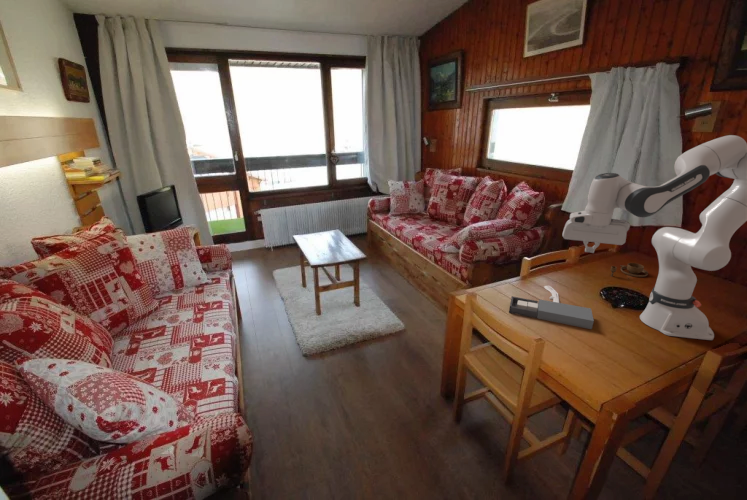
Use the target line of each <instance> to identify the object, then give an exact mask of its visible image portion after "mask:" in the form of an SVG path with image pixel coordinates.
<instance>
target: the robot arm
mask: <svg viewBox="0 0 747 500" xmlns="http://www.w3.org/2000/svg"><path fill="white" fill-rule="evenodd" d="M673 168H674V173H675V174H676V176H675V177H673V178H671V179H669V180H668V181H666V182H664V183H662V184H660V185H657V186H647V185H642V184H639V183H636V182H632V181H630V180H627V179H625V178H623V177H622V176H621V175H620V174H619V173H616V172H605V173H600V174H598V175H595V176H594V178H593V179H592V181H591V184H590V187H589V189H588V193H587V194H588V195H587V203H586V205H585V208H584V210H581V211H575V212H571V213H570V214H569V219H568V220H567V221H566V222H565V224H564V227H563V231H562V237H563V239H564V240H571V241H581V242H583V246H584V247H585V248H584V252H585V253H591V254H594V253H595V250H596V249H597V248H598V247H599V246H600V244H606V245H607V244H608V245H618V246H622V245H624V244H625V243H626V241H627V240H626V239H627V233H628V231H629V230H630V227H631V224H630V222H629V221H627V220H626V219H617V218H613V216H614V211H615V209H621V210H623V211H626V212H629V213H630V214H632V215H634V216H636V217H638V218H648V217H651V216H654V215H655V214H657V213H658V212H659V211H660V210H662V209H663V208H665V206H667V205H668V204H670V203H672V202H673V201H674V200H676V199H678V198H680V197H682V196H683V195H685V194H687V193H689V192H691V191H693V190H694V189H696V188H697V187H699V186H701V185H702V184H704V183H705V182H706V181H707V180H708V179H709V178H710V176H713V175H716V176H719V177H721V178H724V179H725V178H726V179H734V180H733V181H732V182H733V183H732V184H731V186H730V187H729V188H728V189H727V190H725V191H724V192H723V193H722V194H720V195H719V196H718V197H716V199H715V200H713V201H712V202H711V203H710V204H709V205H708V206H707V207H706V208H704V210H703V211H701V213H700V214H699V221H700V223H701V227H700V229H699V230H698V231H697V232H692V231H689V230H687V229H683V228H680V227H674V226H663V227H661V228H658V229H657V230H656V231H655V232H654V234H653V235H652V238H651V245H652V247H653V248H654V249H655V251H656V254H657V259H658V274H657V277H656V282H655V285H654V286H653V287H652V290H651V292H650V294H649V297H648V298H649V299H648V303H647V305H646V307H645V309H644V310H643V311H642V313H641V314H640V315H639V319H640V320H641V322H642V323H644V324H645V325H647V326H648V327H650V328H652V329H654V330H656V331H658V332H660V333H662V334H664V335H665V336H668V337H677V338H678V337H679V338H687V339H696V340H697V339H698V340H704V341H705V340H706V341H713V340H714V338H715V333H714V331H713V330H712V328H711V327H710V326H709V325H710V323H709V319H708V318H707V316H706V315H705V313H704V312H702V311H701V310H700V309H699V308H700V307H702V303H701V302H700V301H699V300H697V298H696V297H695V296H693V292H694V290H695V287H696V284H697V283H698V282H697V281H698V279H697V276H696V273H694V271H693V268H696V269H700V270H704V271H707V272H708V271H709V272H710V271H711V272H712V271H713V272H714V271H718V270H720V269H722V268H725V266H727V265H728V264H729V262H730V260H731V258H732V252H731V249H730V241H731V238H732V237H733V235H734V234H735V232H736V231H737V230H738V229H739V228H740V227H741V226H743V225H744V224H745V223H746V222H747V142H746V140H745V139H744V138H743V137H741V136H739V135H734V134H729V135H724V136H720V137H717V138H714V139H712V140H709V141H706V142H703V143H701V144H699V145H696V146H694V147H692V148H690V149H688V150H686V151H685V152H683V153H681V154H680V155H679V156H678V157H677V158H676V159H675V162H674V166H673ZM590 242H591V243H594V244H593V246H588V244H589V243H590ZM692 267H693V268H692Z"/></svg>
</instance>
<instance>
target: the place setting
mask: <svg viewBox="0 0 747 500" xmlns="http://www.w3.org/2000/svg"><path fill="white" fill-rule="evenodd" d="M644 268H645V266H644V265H642V264H640V263H637V262H629V263H627V265H621V264H620V271H621V272H622V273H623V274H624V275H627V276H630V277H635V278H645V277H647V276H648V275H649V272H648V271H647V270H646V269H644ZM617 269H618V268H617V266H614V265H611V266H610V277H612V278H613V277H614V273H615V272H616V271H617ZM625 269H626V270H627V271H628V272H627V271H624V270H625ZM640 273H644V274H641V275H640ZM630 277H627V279H628V280H630Z"/></svg>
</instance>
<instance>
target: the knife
mask: <svg viewBox="0 0 747 500" xmlns="http://www.w3.org/2000/svg"><path fill="white" fill-rule="evenodd" d="M543 288H544V289H545V290H546V291H549V292H550V294H551V296H549V300H553V301H552V302H557V303H560V297H559V293H558V292H557V290H555V288H553V287H552V286H551V285H544V286H543Z"/></svg>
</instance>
